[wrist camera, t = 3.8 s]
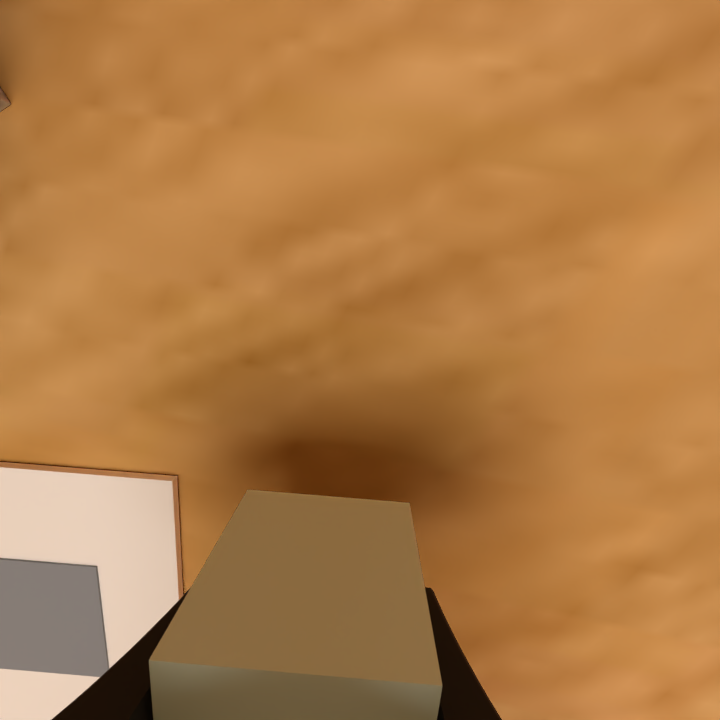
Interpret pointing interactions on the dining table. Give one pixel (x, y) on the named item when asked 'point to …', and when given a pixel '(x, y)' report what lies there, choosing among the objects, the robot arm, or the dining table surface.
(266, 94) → the dining table surface
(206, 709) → the sage block
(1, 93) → the decorative book
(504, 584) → the dining table surface
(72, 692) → the white flat board
